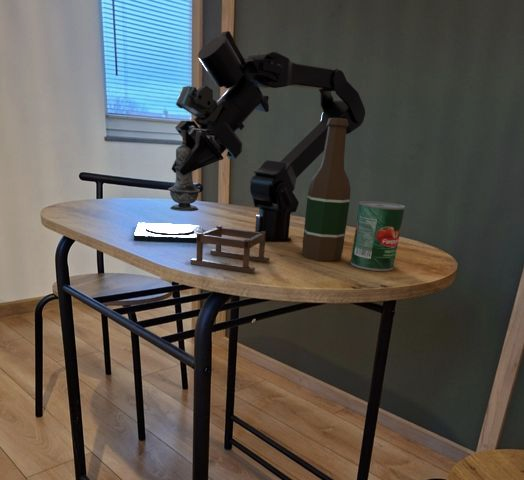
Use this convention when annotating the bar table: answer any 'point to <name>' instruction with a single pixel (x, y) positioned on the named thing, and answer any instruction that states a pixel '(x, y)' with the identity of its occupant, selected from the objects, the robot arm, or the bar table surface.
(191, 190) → the salt shaker
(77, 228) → the bar table surface
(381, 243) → the canned tomato
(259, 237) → the brown wooden stand
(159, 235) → the plate
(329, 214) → the beer bottle
